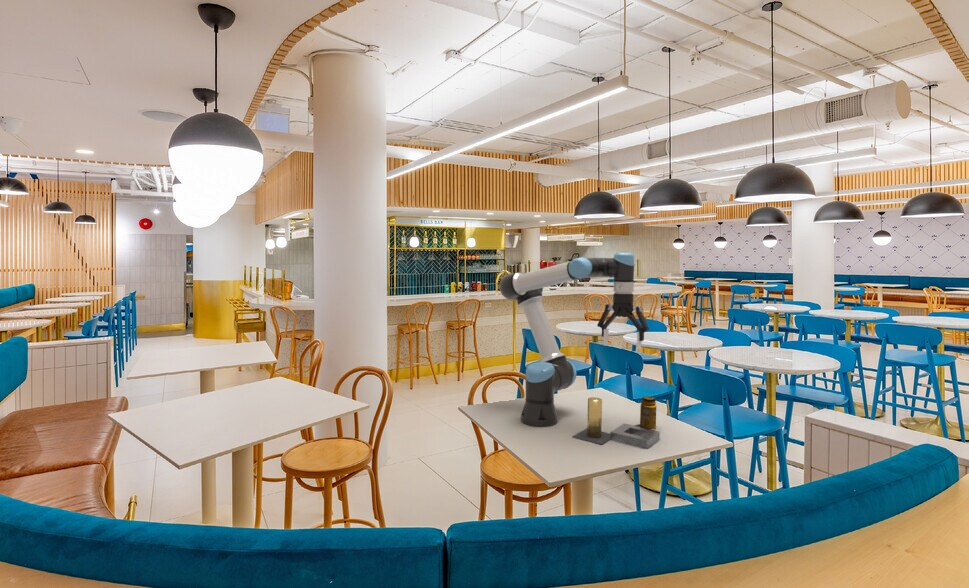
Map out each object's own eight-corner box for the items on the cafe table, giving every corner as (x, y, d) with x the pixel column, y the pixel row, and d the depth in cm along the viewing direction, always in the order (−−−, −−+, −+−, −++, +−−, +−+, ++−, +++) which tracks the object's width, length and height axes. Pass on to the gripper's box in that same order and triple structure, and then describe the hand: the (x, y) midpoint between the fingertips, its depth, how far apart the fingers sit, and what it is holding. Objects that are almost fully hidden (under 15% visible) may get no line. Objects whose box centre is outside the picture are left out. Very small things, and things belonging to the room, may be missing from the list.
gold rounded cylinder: (584, 435, 187) (585, 399, 186) (591, 432, 191) (591, 396, 190) (597, 439, 184) (598, 402, 183) (603, 435, 188) (604, 399, 187)
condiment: (660, 428, 198) (661, 398, 197) (646, 432, 193) (647, 401, 192) (645, 422, 204) (646, 394, 203) (631, 426, 199) (632, 397, 198)
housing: (610, 439, 185) (610, 431, 184) (623, 431, 194) (623, 423, 194) (647, 449, 176) (647, 440, 175) (659, 439, 185) (659, 431, 185)
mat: (572, 437, 187) (572, 436, 187) (587, 428, 196) (587, 427, 196) (601, 445, 179) (601, 444, 179) (616, 435, 188) (616, 434, 188)
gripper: (589, 291, 197) (588, 344, 198) (651, 295, 181) (649, 352, 183) (598, 290, 203) (597, 342, 204) (659, 293, 187) (657, 349, 188)
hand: (622, 347), depth 193 cm, fingers open, 13 cm apart
